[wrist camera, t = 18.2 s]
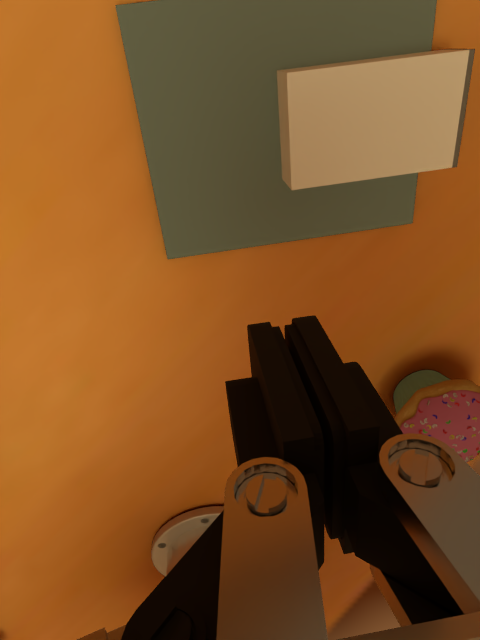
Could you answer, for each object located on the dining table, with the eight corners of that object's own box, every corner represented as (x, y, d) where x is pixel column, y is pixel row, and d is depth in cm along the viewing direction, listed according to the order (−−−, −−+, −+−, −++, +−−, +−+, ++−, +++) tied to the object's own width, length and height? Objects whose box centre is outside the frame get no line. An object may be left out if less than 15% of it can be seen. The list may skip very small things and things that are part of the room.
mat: (409, 221, 31) (412, 223, 31) (167, 257, 30) (167, 259, 30) (436, -32, 24) (440, -33, 23) (116, 5, 23) (115, 5, 22)
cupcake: (398, 437, 43) (468, 558, 33) (354, 388, 39) (419, 510, 29) (479, 389, 41) (580, 502, 31) (442, 332, 37) (545, 441, 27)
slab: (282, 178, 28) (435, 157, 29) (291, 190, 26) (456, 167, 26) (276, 70, 25) (448, 48, 25) (286, 72, 23) (475, 49, 23)
